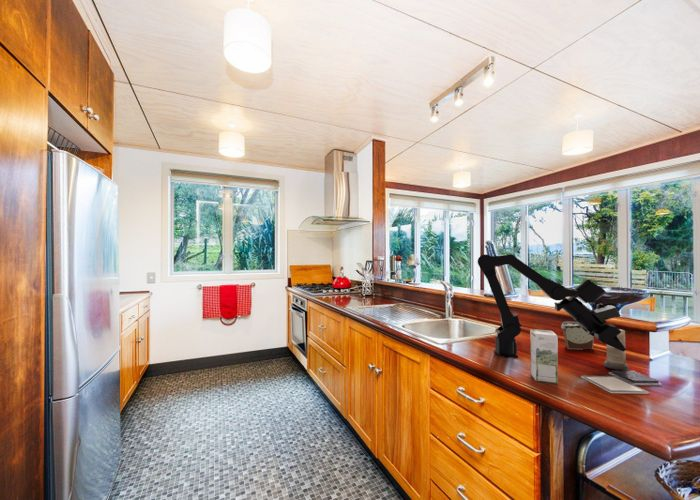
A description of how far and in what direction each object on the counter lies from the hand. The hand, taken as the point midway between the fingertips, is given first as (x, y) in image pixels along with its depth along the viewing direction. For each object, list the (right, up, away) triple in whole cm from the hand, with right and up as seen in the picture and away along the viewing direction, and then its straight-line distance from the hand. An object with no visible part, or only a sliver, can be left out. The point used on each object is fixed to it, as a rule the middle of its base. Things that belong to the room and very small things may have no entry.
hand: (621, 348), depth 94 cm
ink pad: (-4, -7, -8) cm, 11 cm away
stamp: (-1, -7, 0) cm, 7 cm away
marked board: (-14, -6, -12) cm, 19 cm away
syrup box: (-31, -7, -8) cm, 33 cm away
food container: (+3, -8, +23) cm, 25 cm away
